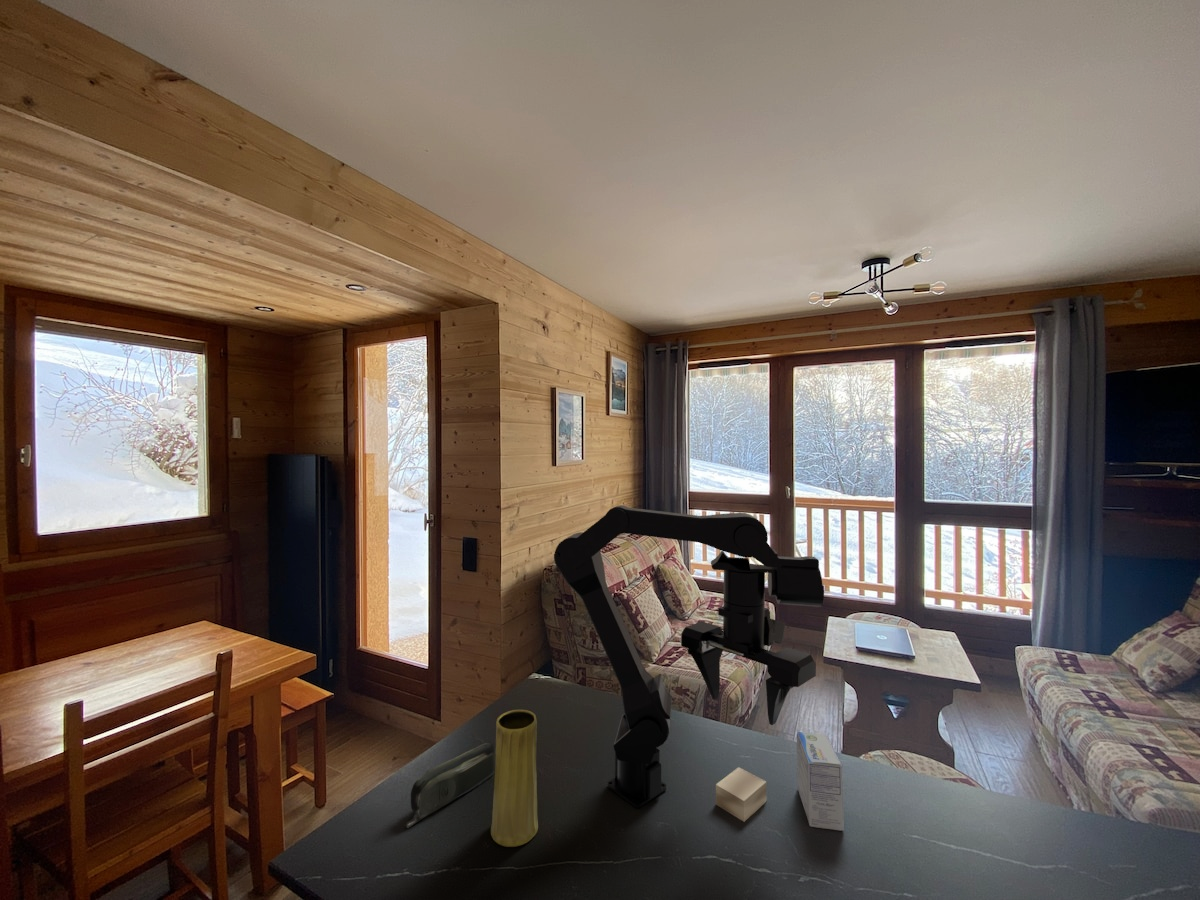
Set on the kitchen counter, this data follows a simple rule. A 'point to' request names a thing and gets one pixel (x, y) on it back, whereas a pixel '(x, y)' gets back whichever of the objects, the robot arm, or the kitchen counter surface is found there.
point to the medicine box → (820, 781)
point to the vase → (515, 779)
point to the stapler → (451, 780)
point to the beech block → (741, 793)
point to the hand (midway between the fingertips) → (742, 710)
